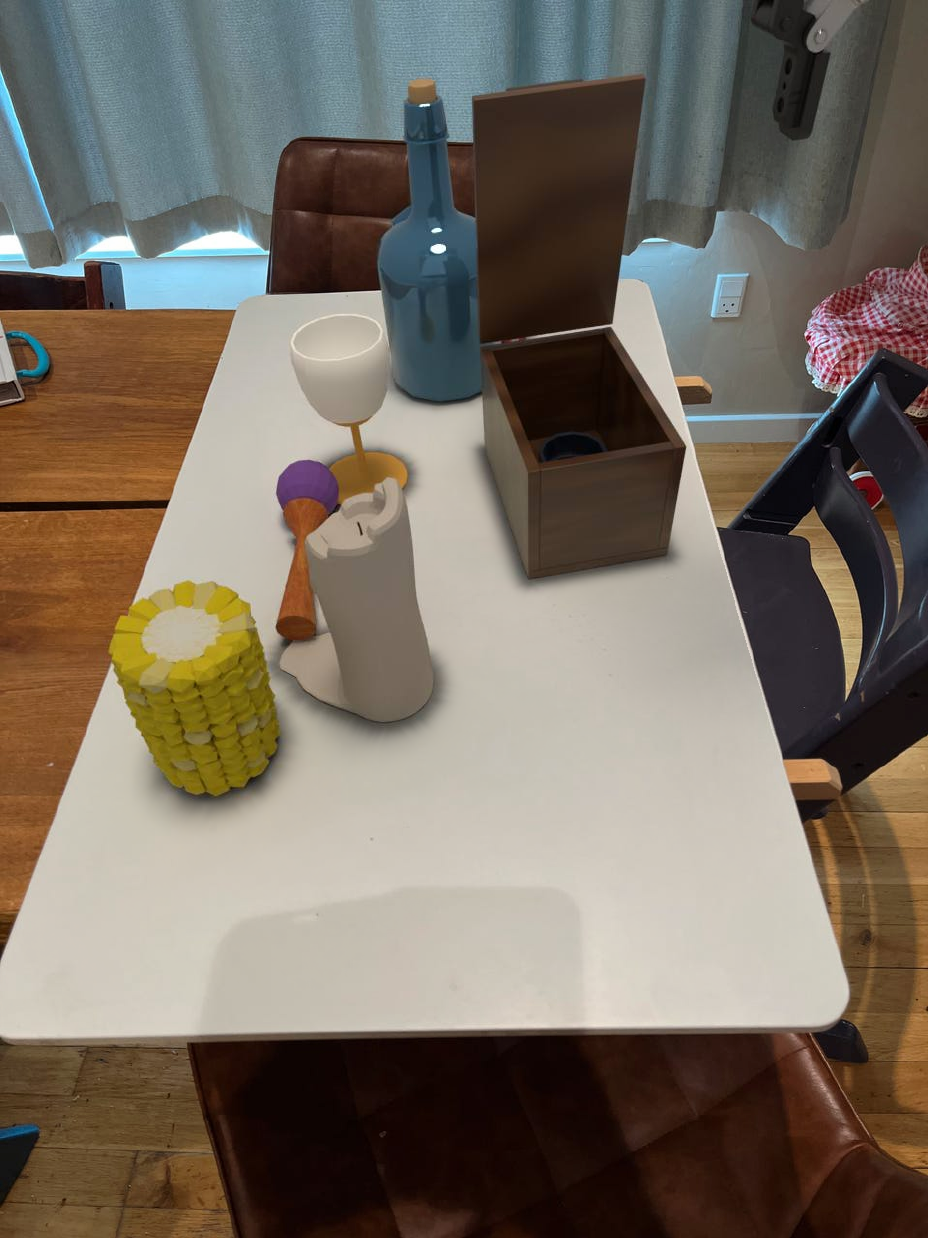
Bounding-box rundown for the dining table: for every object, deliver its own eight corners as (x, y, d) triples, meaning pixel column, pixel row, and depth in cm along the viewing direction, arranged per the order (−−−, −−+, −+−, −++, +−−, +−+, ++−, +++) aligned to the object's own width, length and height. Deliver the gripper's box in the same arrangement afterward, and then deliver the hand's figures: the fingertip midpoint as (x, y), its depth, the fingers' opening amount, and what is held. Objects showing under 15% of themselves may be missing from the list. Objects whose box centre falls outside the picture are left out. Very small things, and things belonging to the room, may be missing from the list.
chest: (667, 555, 71) (686, 446, 62) (528, 579, 70) (528, 472, 62) (602, 430, 85) (611, 326, 76) (484, 449, 84) (479, 346, 75)
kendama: (246, 614, 64) (268, 455, 76) (277, 655, 68) (293, 499, 81) (315, 598, 63) (326, 440, 75) (342, 641, 67) (348, 485, 80)
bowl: (592, 469, 79) (595, 427, 75) (611, 508, 75) (615, 465, 71) (532, 479, 78) (532, 437, 75) (547, 519, 74) (548, 476, 70)
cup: (425, 470, 82) (408, 326, 70) (369, 519, 77) (340, 373, 65) (360, 444, 86) (333, 302, 74) (303, 489, 81) (264, 346, 69)
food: (169, 728, 64) (293, 708, 65) (148, 841, 54) (294, 814, 56) (109, 568, 55) (254, 548, 56) (73, 669, 46) (248, 642, 47)
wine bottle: (521, 387, 91) (517, 85, 69) (414, 418, 88) (375, 114, 66) (474, 335, 100) (458, 52, 78) (376, 361, 97) (330, 76, 75)
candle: (307, 619, 69) (245, 426, 54) (448, 666, 64) (424, 470, 49) (260, 679, 65) (179, 489, 50) (408, 734, 60) (367, 542, 45)
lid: (646, 77, 58) (624, 48, 61) (473, 99, 57) (460, 69, 60) (612, 324, 75) (597, 292, 78) (480, 344, 74) (469, 311, 77)
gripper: (888, -386, 25) (772, 169, 37) (1292, -421, 26) (1050, 130, 38) (783, -362, 30) (710, 120, 42) (1125, -392, 31) (958, 87, 43)
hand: (872, 124), depth 40 cm, fingers open, 8 cm apart
